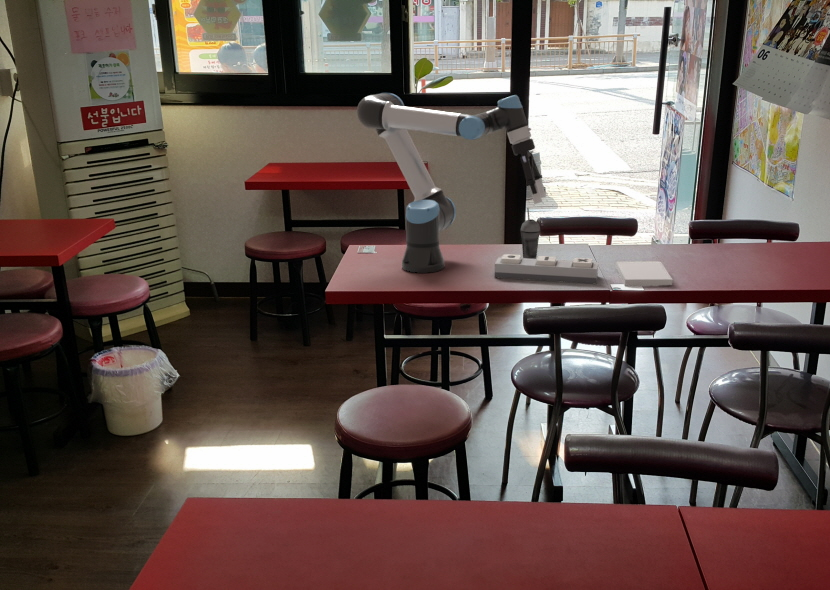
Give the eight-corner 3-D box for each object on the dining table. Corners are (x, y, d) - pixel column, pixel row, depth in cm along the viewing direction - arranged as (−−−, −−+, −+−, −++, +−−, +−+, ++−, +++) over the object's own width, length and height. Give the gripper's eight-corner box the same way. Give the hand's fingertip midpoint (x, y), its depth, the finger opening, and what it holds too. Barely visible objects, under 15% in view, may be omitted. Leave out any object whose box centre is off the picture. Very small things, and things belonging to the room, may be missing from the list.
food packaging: (671, 289, 264) (659, 270, 282) (672, 279, 262) (660, 261, 281) (624, 289, 265) (615, 270, 284) (625, 279, 264) (616, 261, 283)
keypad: (494, 277, 276) (494, 263, 274) (498, 270, 284) (498, 256, 283) (596, 283, 268) (597, 269, 266) (597, 276, 276) (598, 262, 274)
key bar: (536, 267, 273) (536, 260, 272) (538, 262, 278) (538, 255, 277) (554, 268, 271) (554, 261, 270) (556, 263, 277) (556, 256, 276)
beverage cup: (540, 264, 292) (542, 209, 286) (520, 264, 292) (522, 209, 286) (538, 258, 299) (540, 205, 293) (518, 259, 299) (519, 205, 293)
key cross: (572, 269, 270) (572, 262, 269) (573, 264, 275) (574, 257, 274) (590, 270, 268) (591, 262, 267) (592, 265, 274) (592, 258, 273)
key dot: (501, 265, 276) (501, 258, 275) (503, 261, 281) (504, 253, 280) (518, 266, 274) (518, 259, 273) (521, 262, 280) (521, 254, 279)
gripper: (527, 139, 264) (547, 201, 267) (535, 135, 287) (554, 192, 290) (505, 147, 266) (525, 208, 269) (515, 142, 289) (534, 198, 293)
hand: (540, 200), depth 280 cm, fingers open, 13 cm apart
